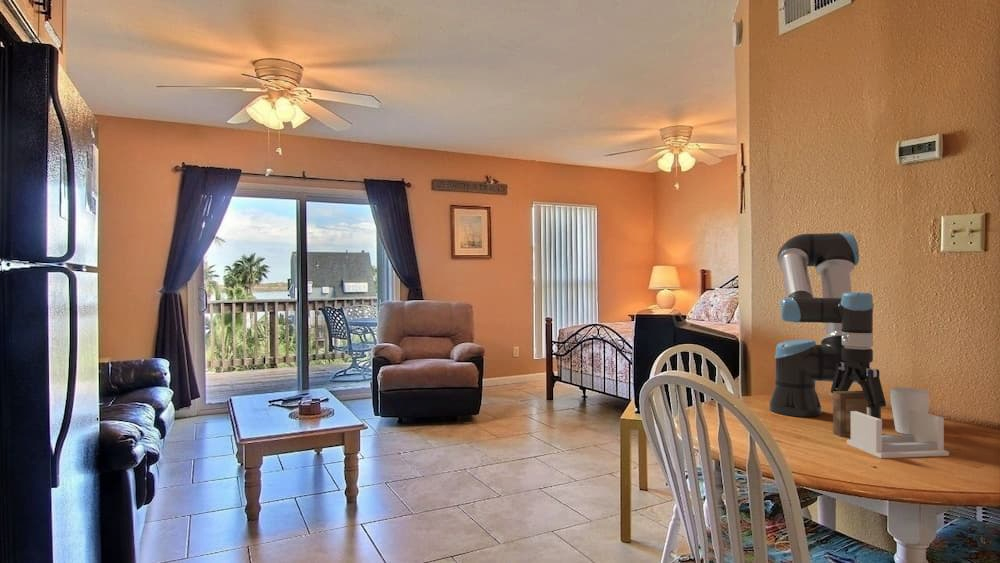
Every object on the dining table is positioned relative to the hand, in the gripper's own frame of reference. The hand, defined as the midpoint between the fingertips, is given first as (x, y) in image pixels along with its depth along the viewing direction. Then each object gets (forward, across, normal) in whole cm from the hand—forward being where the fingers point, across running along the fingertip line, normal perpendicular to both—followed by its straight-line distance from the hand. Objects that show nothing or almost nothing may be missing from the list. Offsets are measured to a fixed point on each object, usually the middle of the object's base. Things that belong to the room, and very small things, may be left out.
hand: (856, 425), depth 159 cm
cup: (+3, 0, +16) cm, 16 cm away
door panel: (+3, 0, 0) cm, 3 cm away
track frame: (+3, +14, 0) cm, 14 cm away
